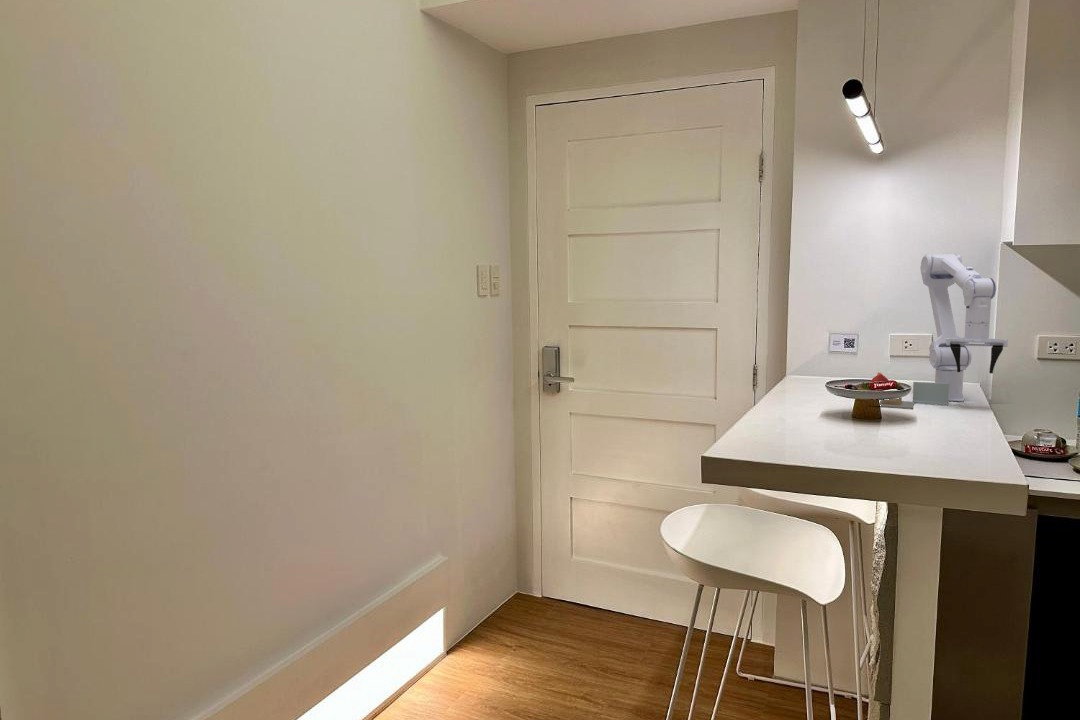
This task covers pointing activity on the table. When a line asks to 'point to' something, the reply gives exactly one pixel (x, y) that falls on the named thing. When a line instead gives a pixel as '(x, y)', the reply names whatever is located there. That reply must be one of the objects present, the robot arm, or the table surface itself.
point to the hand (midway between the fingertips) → (974, 372)
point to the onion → (879, 378)
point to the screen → (930, 393)
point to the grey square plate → (903, 405)
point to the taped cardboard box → (893, 401)
